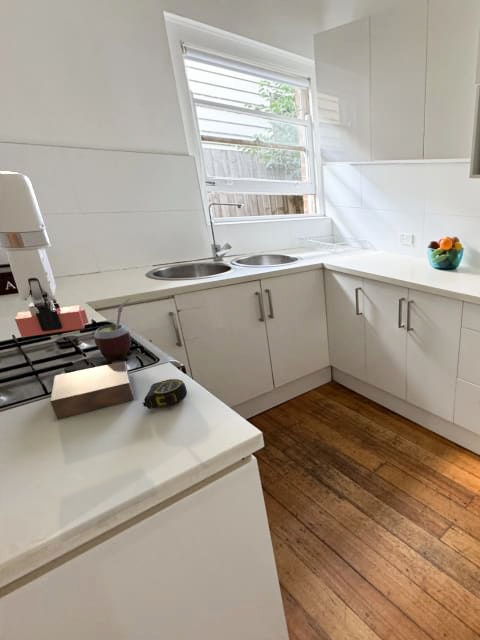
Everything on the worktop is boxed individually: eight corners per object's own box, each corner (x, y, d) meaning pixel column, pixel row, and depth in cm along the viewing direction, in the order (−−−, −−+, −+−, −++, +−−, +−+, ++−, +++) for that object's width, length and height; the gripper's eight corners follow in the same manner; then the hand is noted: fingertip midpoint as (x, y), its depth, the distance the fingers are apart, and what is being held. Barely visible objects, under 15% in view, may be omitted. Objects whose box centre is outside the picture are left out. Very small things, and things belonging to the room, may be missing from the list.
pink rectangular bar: (21, 337, 78) (10, 309, 76) (24, 330, 82) (14, 303, 79) (89, 327, 84) (81, 301, 82) (89, 321, 88) (81, 296, 85)
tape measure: (155, 395, 80) (150, 380, 79) (191, 391, 82) (188, 375, 81) (145, 413, 74) (140, 396, 73) (184, 408, 76) (180, 392, 75)
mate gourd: (94, 360, 94) (74, 302, 88) (126, 348, 101) (110, 294, 95) (115, 366, 92) (96, 307, 86) (146, 353, 98) (131, 297, 92)
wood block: (57, 419, 72) (49, 401, 70) (61, 392, 80) (54, 375, 79) (134, 399, 79) (128, 382, 77) (129, 376, 87) (125, 361, 86)
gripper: (3, 234, 79) (34, 317, 86) (-12, 248, 67) (24, 342, 74) (52, 233, 83) (77, 311, 91) (45, 245, 71) (74, 335, 78)
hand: (53, 324), depth 82 cm, fingers closed on pink rectangular bar, 4 cm apart
